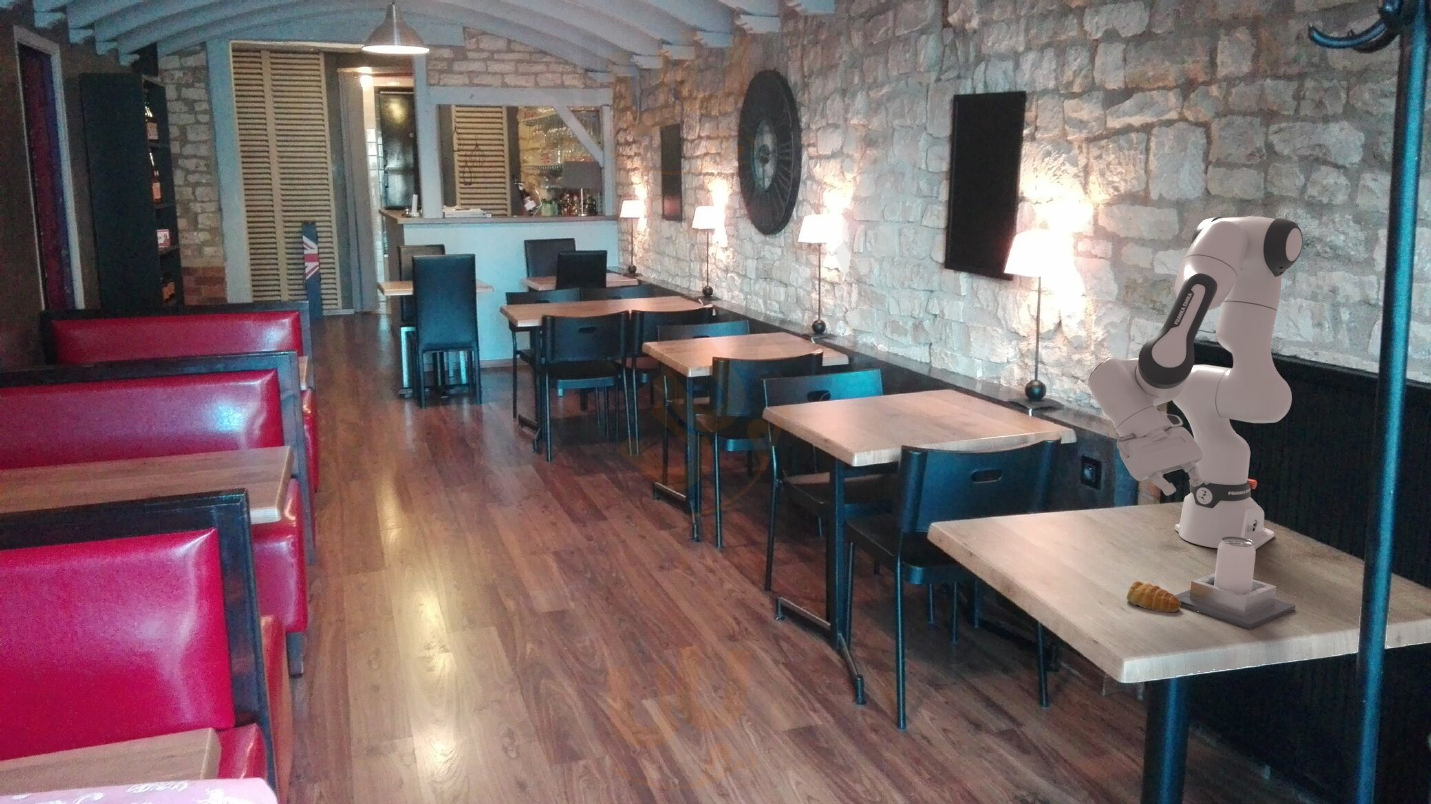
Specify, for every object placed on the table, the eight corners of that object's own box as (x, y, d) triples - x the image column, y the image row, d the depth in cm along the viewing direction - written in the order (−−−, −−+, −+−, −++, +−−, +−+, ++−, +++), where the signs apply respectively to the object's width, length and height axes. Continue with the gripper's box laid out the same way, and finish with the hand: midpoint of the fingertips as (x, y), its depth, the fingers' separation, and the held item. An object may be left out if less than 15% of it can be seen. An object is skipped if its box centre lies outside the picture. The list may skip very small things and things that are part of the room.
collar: (1214, 585, 223) (1217, 563, 222) (1294, 610, 211) (1297, 587, 210) (1168, 602, 214) (1170, 580, 213) (1249, 629, 201) (1252, 606, 200)
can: (1254, 609, 208) (1261, 547, 206) (1217, 606, 210) (1223, 545, 207) (1245, 596, 215) (1251, 536, 212) (1209, 594, 216) (1215, 534, 213)
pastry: (1186, 608, 212) (1188, 589, 211) (1171, 618, 207) (1173, 598, 206) (1137, 595, 218) (1139, 576, 217) (1122, 604, 214) (1124, 585, 213)
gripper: (1124, 429, 215) (1166, 490, 209) (1183, 415, 227) (1225, 472, 221) (1102, 447, 220) (1143, 507, 214) (1162, 432, 231) (1202, 488, 226)
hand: (1185, 489), depth 218 cm, fingers open, 8 cm apart
